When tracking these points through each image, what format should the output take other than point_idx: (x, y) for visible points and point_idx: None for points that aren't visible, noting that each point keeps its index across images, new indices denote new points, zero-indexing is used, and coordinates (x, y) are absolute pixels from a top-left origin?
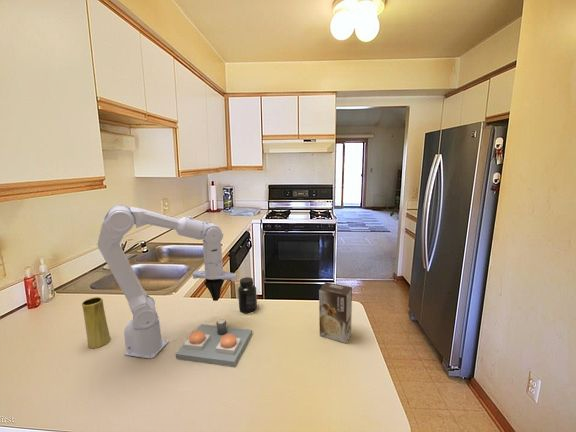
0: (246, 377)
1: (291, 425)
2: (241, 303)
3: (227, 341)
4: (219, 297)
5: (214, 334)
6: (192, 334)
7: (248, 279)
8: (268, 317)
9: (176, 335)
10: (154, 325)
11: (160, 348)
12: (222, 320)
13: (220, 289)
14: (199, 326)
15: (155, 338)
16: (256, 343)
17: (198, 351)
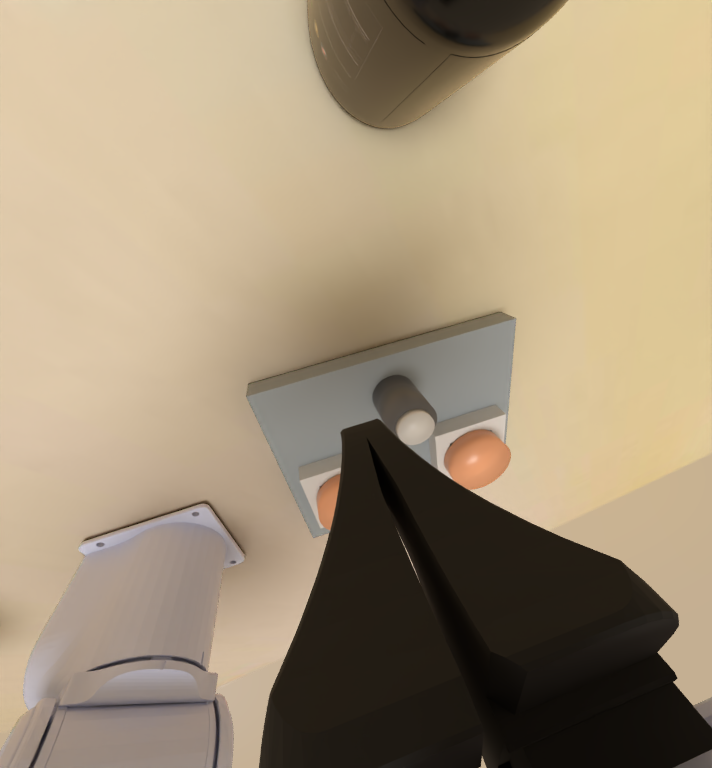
0: (530, 468)
1: (621, 494)
2: (394, 102)
3: (486, 477)
4: (382, 422)
5: (370, 420)
6: (330, 516)
7: None
8: (554, 112)
9: (188, 466)
10: (216, 679)
11: (225, 536)
12: (419, 423)
13: (433, 476)
14: (256, 413)
15: (217, 598)
16: (529, 354)
17: None
